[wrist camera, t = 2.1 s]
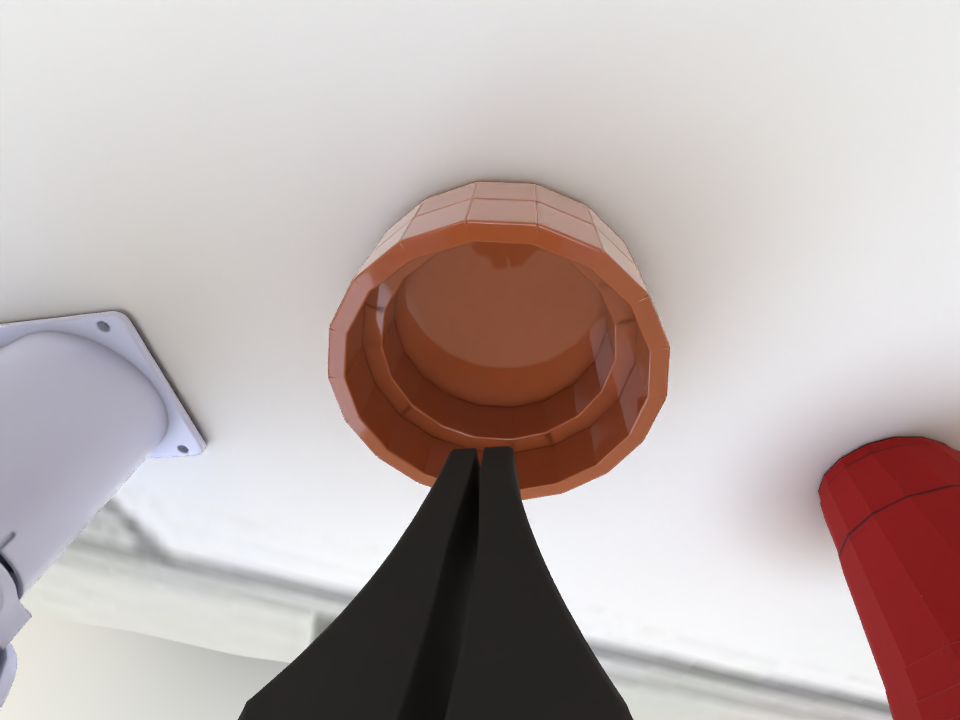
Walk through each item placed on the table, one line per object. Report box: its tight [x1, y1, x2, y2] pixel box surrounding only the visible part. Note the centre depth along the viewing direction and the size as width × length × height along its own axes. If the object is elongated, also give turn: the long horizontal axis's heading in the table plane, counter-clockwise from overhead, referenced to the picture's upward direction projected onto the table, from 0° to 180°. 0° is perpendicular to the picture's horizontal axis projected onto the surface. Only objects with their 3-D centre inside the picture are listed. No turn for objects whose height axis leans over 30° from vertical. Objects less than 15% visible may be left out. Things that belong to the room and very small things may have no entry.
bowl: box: [328, 181, 670, 500], centre depth 18 cm, size 11×11×5 cm
